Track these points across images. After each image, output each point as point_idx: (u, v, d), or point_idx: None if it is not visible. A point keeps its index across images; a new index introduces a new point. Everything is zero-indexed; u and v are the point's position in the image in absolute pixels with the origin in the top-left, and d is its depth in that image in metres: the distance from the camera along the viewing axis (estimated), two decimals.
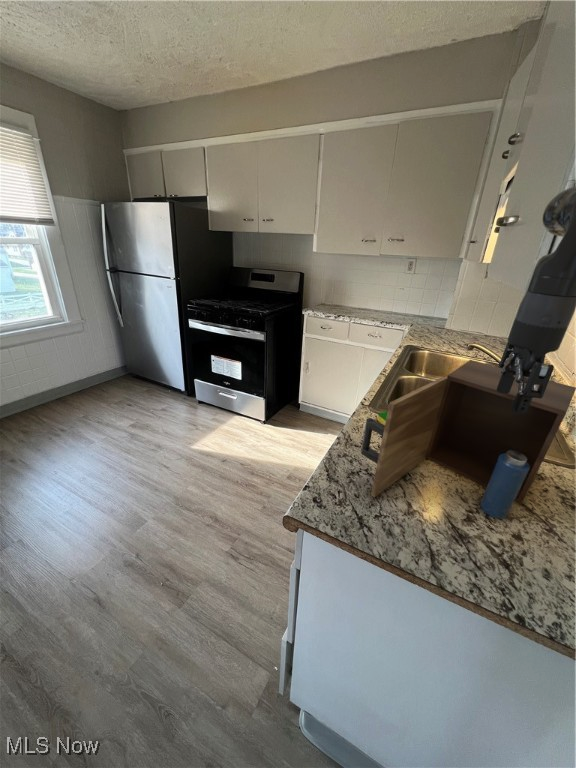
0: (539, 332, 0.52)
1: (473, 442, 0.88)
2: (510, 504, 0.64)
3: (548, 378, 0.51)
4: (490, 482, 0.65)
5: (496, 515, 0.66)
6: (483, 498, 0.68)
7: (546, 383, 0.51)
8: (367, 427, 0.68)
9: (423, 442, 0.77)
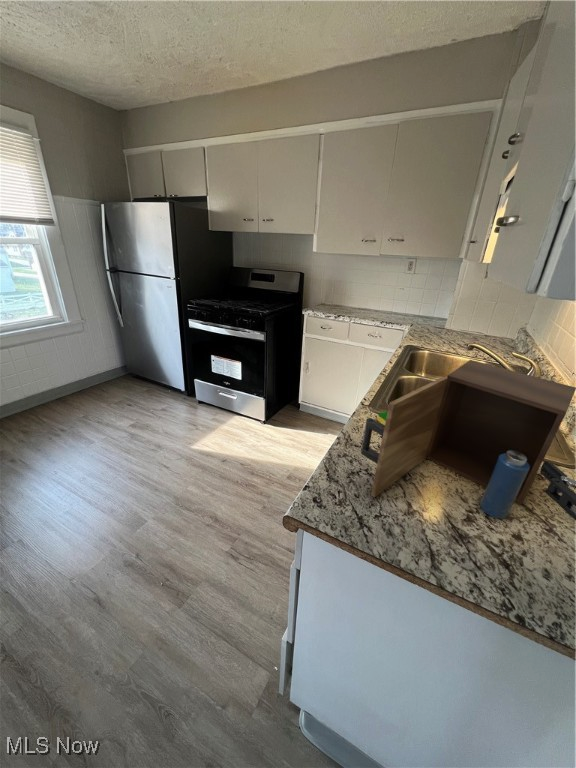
0: None
1: (473, 442, 0.88)
2: (510, 504, 0.64)
3: None
4: (490, 482, 0.65)
5: (496, 515, 0.66)
6: (483, 498, 0.68)
7: None
8: (367, 427, 0.68)
9: (423, 442, 0.77)
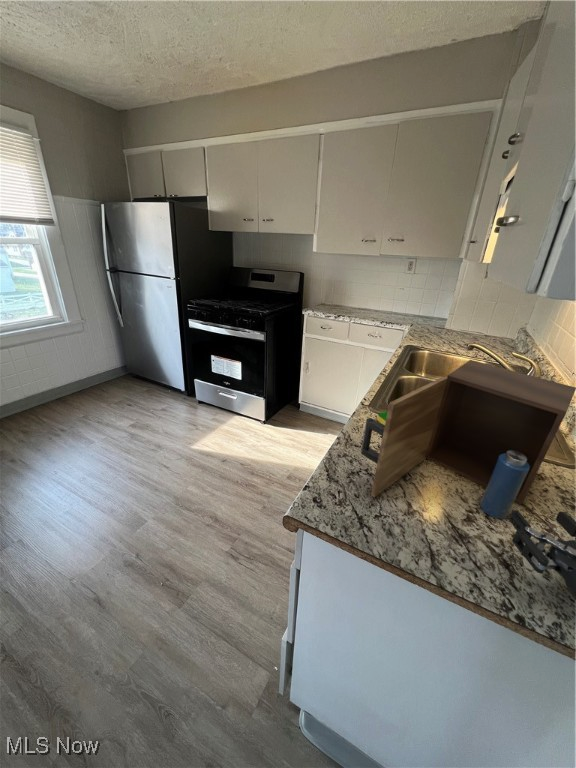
0: None
1: (473, 442, 0.88)
2: (510, 504, 0.64)
3: None
4: (490, 482, 0.65)
5: (496, 515, 0.66)
6: (483, 498, 0.68)
7: None
8: (367, 427, 0.68)
9: (423, 442, 0.77)
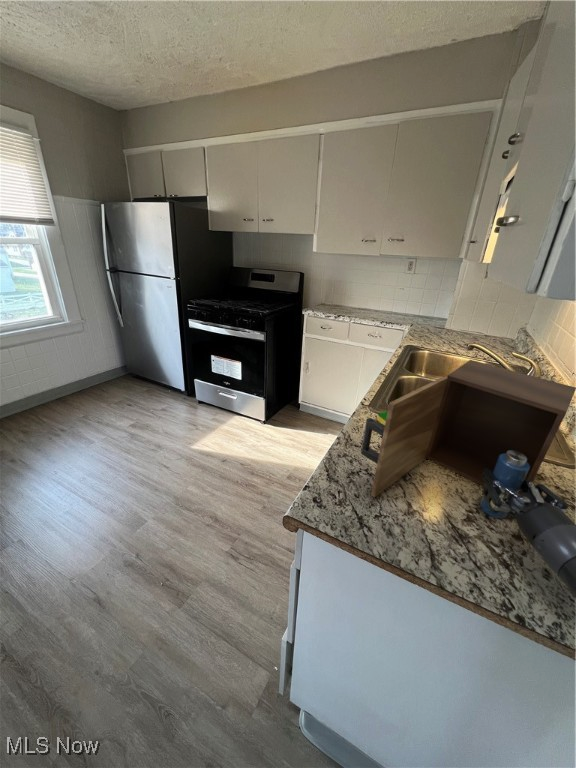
0: None
1: (473, 442, 0.88)
2: None
3: (558, 498, 0.59)
4: None
5: (496, 515, 0.66)
6: (483, 498, 0.68)
7: (554, 494, 0.60)
8: (367, 427, 0.68)
9: (423, 442, 0.77)
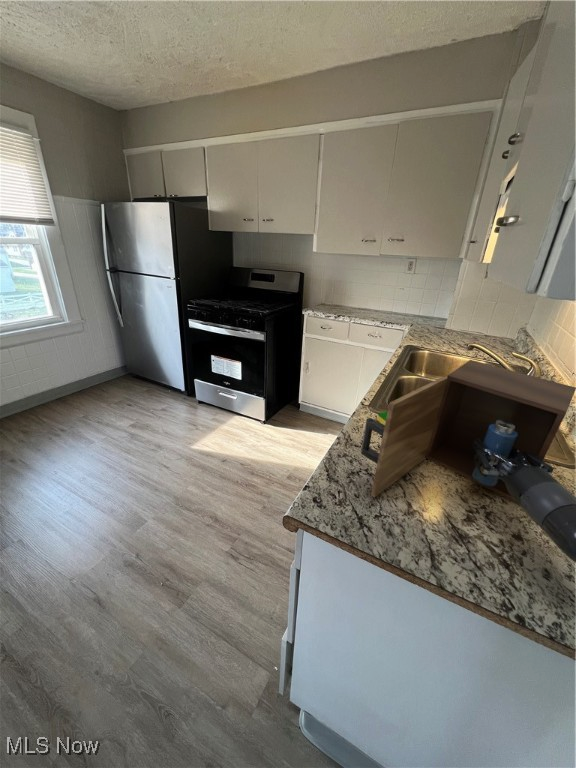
0: None
1: (473, 442, 0.88)
2: None
3: (544, 462, 0.63)
4: None
5: (487, 482, 0.69)
6: (475, 467, 0.71)
7: (540, 460, 0.64)
8: (367, 427, 0.68)
9: (423, 442, 0.77)
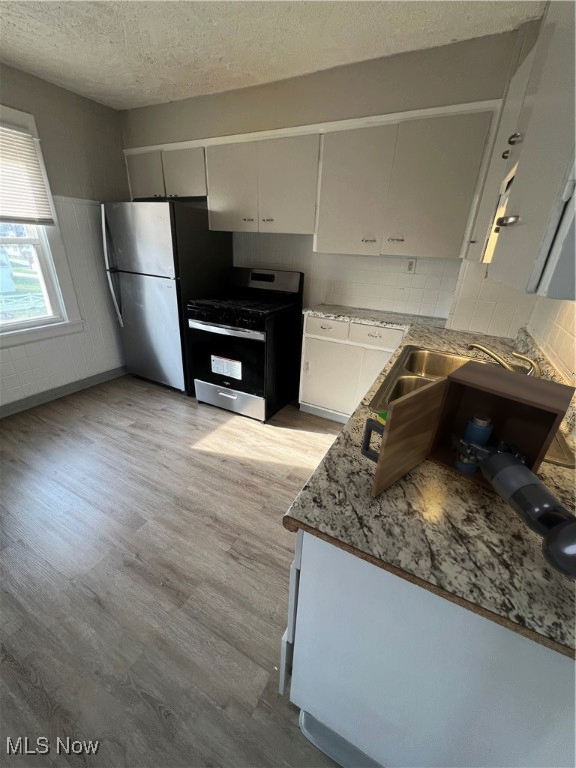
0: None
1: None
2: None
3: (522, 453, 0.69)
4: None
5: (467, 470, 0.76)
6: (456, 457, 0.79)
7: (520, 450, 0.70)
8: (367, 427, 0.68)
9: (423, 442, 0.77)
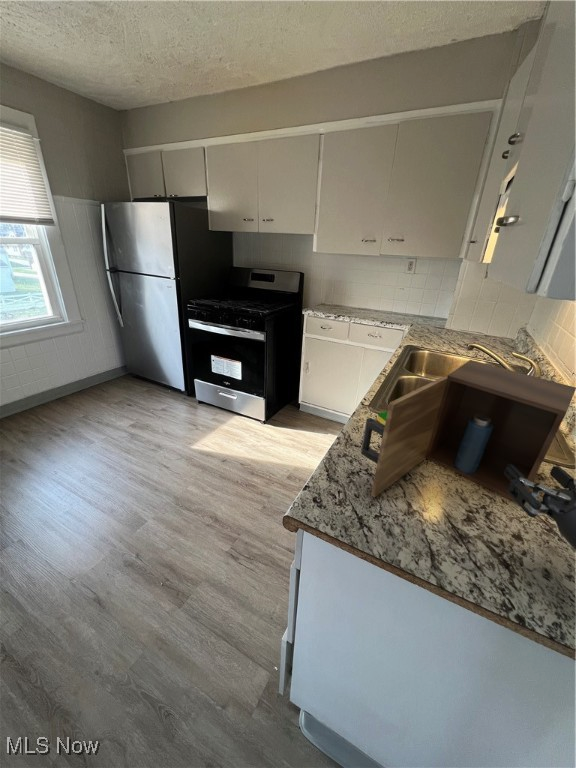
0: None
1: None
2: (478, 460, 0.75)
3: None
4: (461, 442, 0.76)
5: (467, 470, 0.76)
6: (456, 457, 0.79)
7: None
8: (367, 427, 0.68)
9: (423, 442, 0.77)
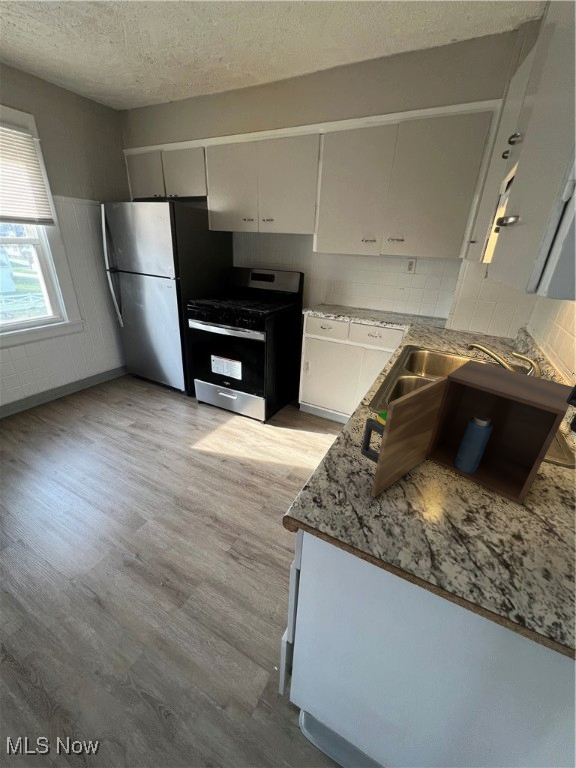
0: None
1: None
2: (478, 460, 0.75)
3: None
4: (461, 442, 0.76)
5: (467, 470, 0.76)
6: (456, 457, 0.79)
7: None
8: (367, 427, 0.68)
9: (423, 442, 0.77)
